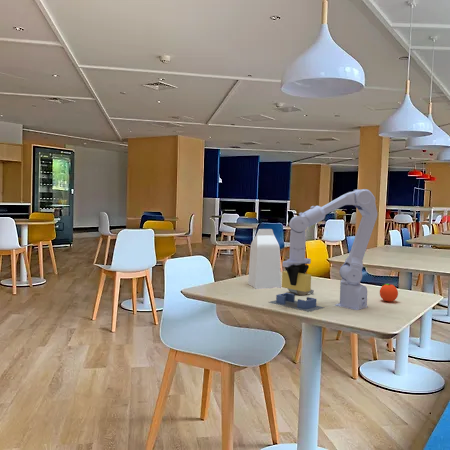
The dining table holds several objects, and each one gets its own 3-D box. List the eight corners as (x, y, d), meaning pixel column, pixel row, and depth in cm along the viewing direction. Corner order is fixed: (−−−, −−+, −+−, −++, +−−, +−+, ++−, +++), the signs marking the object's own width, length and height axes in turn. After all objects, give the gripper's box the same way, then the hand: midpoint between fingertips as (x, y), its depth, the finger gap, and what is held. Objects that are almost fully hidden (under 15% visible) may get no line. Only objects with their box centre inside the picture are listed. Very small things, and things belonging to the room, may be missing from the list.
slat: (310, 290, 169) (311, 274, 168) (305, 291, 167) (305, 275, 166) (287, 286, 177) (287, 270, 176) (281, 287, 174) (282, 271, 174)
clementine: (373, 299, 185) (374, 282, 184) (387, 298, 187) (388, 281, 187) (387, 304, 177) (388, 285, 177) (401, 302, 180) (402, 284, 179)
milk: (255, 288, 202) (256, 230, 201) (248, 283, 213) (249, 228, 212) (281, 287, 205) (282, 230, 203) (272, 283, 216) (273, 228, 215)
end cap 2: (316, 306, 169) (316, 298, 169) (305, 309, 165) (306, 301, 165) (307, 304, 172) (307, 297, 172) (297, 307, 167) (297, 299, 167)
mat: (324, 308, 169) (324, 307, 168) (308, 312, 162) (308, 311, 162) (284, 299, 182) (284, 298, 182) (267, 302, 175) (267, 302, 175)
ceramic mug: (296, 296, 187) (297, 278, 186) (285, 292, 194) (286, 275, 194) (317, 295, 191) (318, 277, 191) (306, 291, 199) (307, 274, 198)
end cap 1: (276, 302, 175) (276, 294, 174) (286, 300, 179) (286, 292, 179) (284, 304, 172) (284, 296, 172) (294, 302, 176) (294, 294, 176)
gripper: (300, 246, 178) (299, 280, 179) (276, 248, 168) (275, 285, 169) (315, 247, 173) (314, 283, 174) (291, 250, 163) (290, 288, 164)
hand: (296, 284), depth 171 cm, fingers closed on slat, 3 cm apart
